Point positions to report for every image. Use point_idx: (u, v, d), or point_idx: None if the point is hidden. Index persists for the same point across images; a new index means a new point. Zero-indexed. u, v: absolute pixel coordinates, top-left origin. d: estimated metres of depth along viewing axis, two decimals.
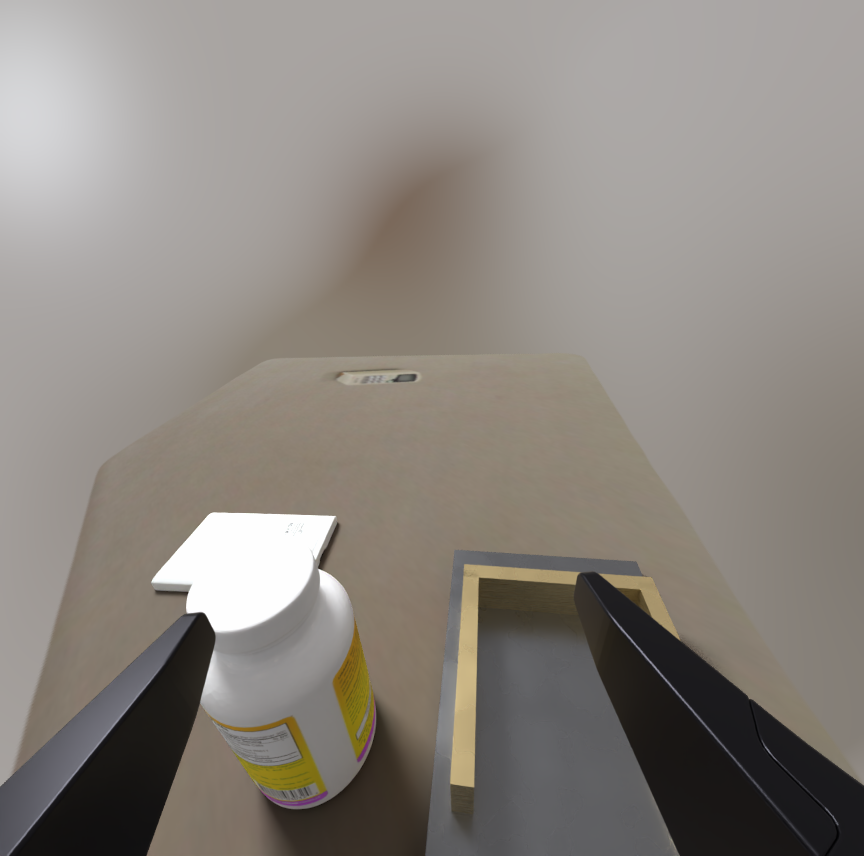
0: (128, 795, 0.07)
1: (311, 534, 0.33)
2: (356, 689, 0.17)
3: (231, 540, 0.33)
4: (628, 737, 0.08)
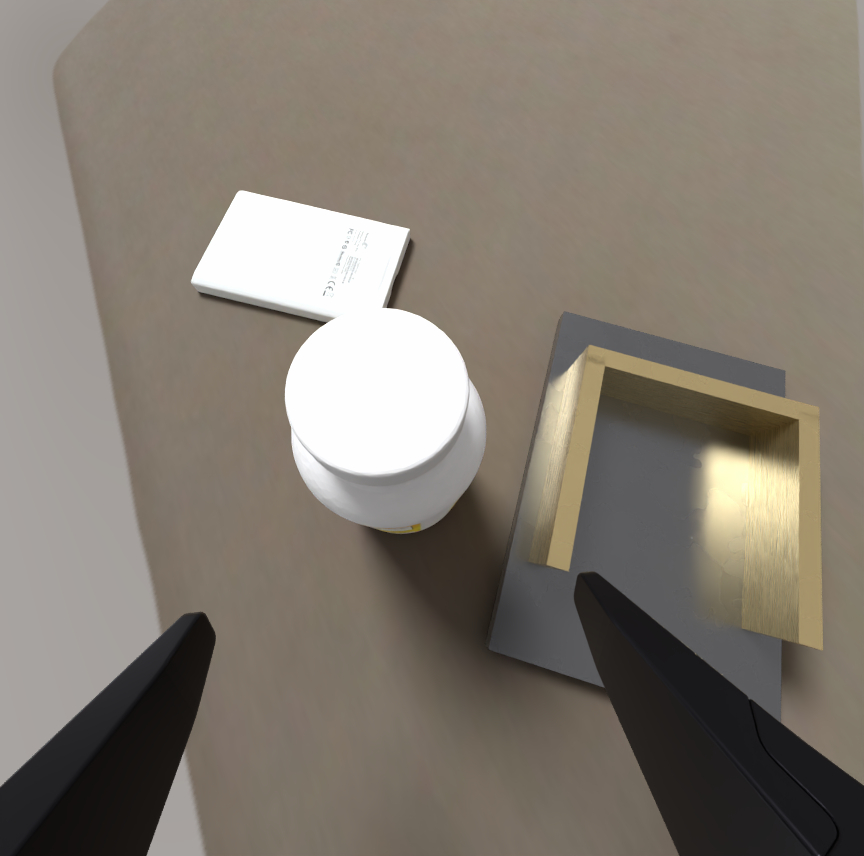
0: (128, 796, 0.07)
1: (378, 251, 0.25)
2: None
3: (276, 241, 0.25)
4: (627, 738, 0.08)
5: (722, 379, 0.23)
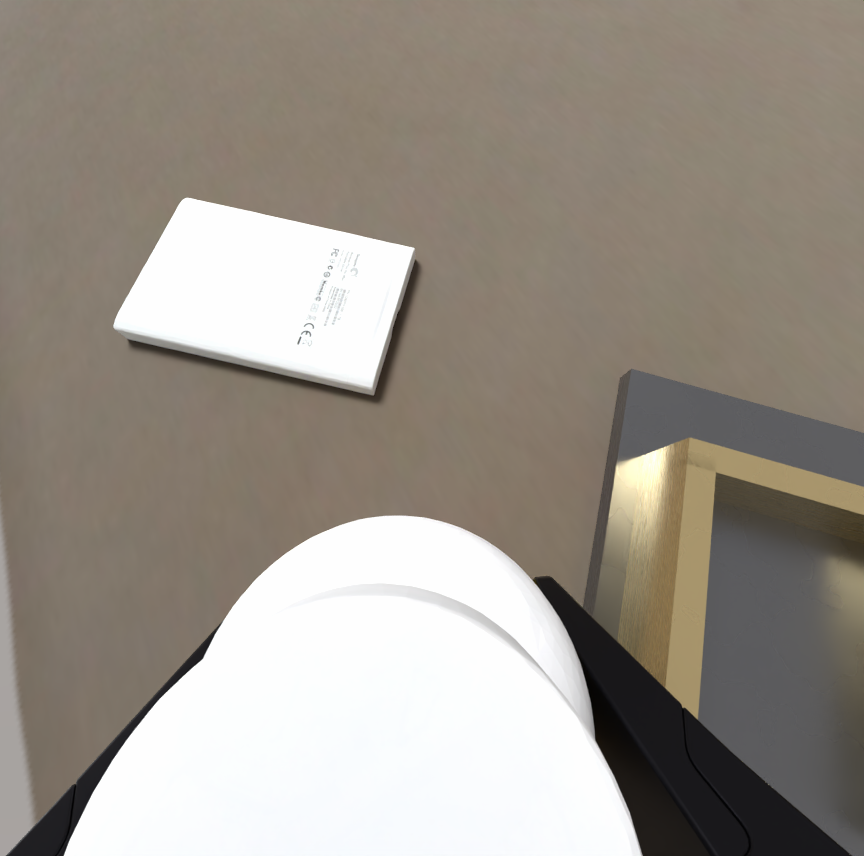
0: None
1: (373, 279, 0.18)
2: None
3: (233, 267, 0.18)
4: None
5: (858, 469, 0.16)
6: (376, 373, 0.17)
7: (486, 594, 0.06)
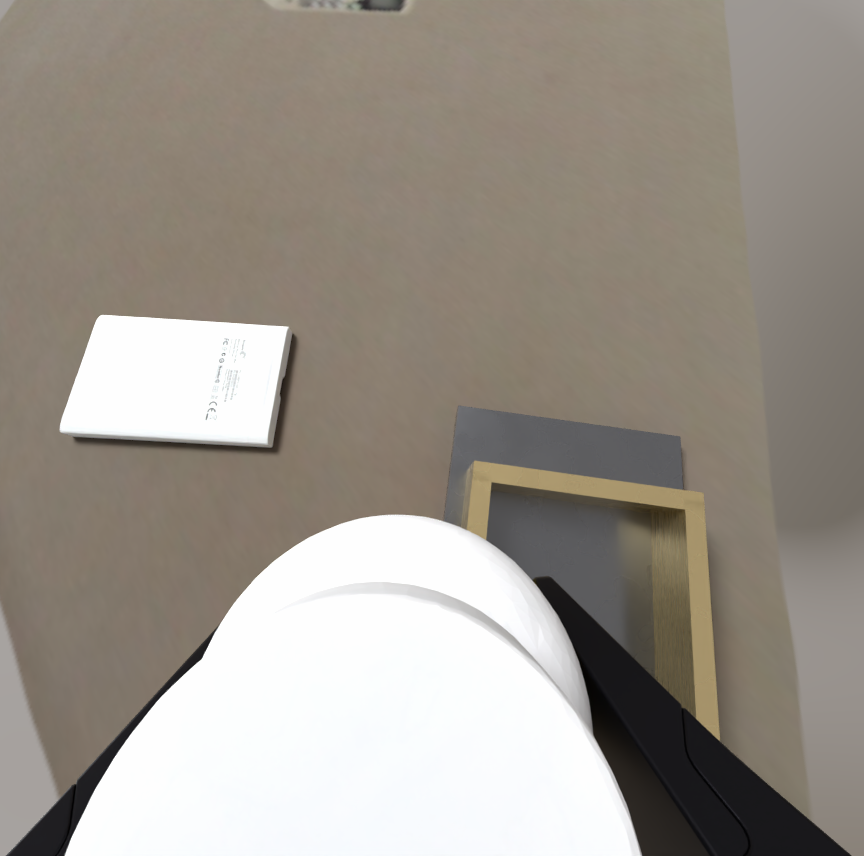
0: None
1: (258, 358, 0.24)
2: None
3: (147, 367, 0.24)
4: None
5: (620, 456, 0.23)
6: (269, 431, 0.23)
7: (485, 593, 0.06)
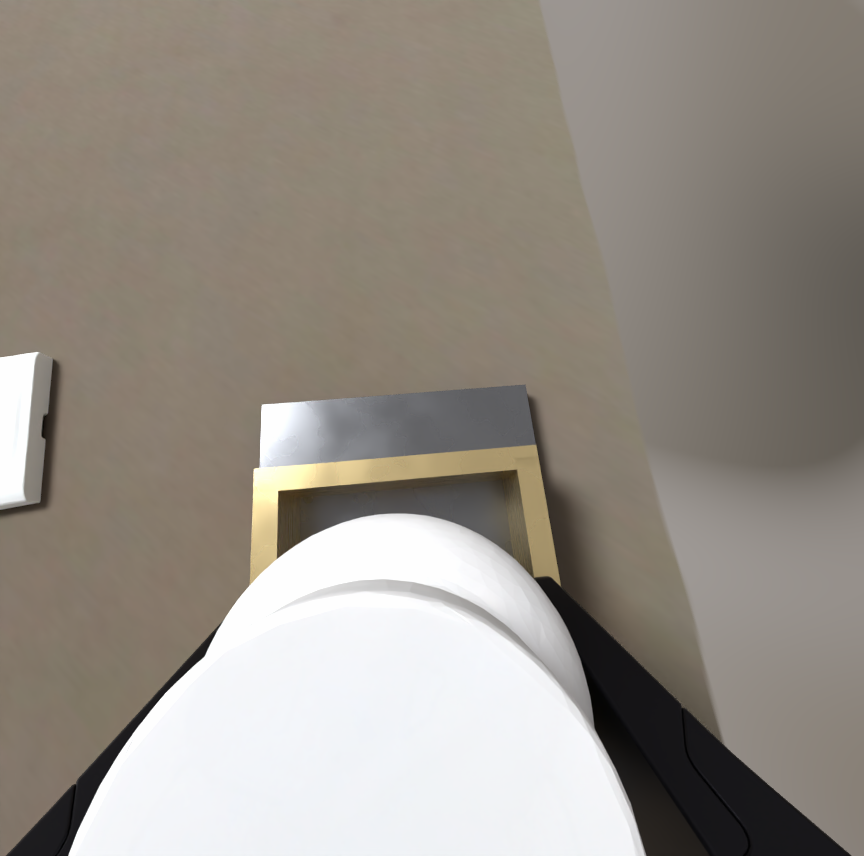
0: None
1: (1, 398, 0.19)
2: None
3: None
4: None
5: (460, 421, 0.20)
6: (26, 484, 0.18)
7: (487, 590, 0.06)
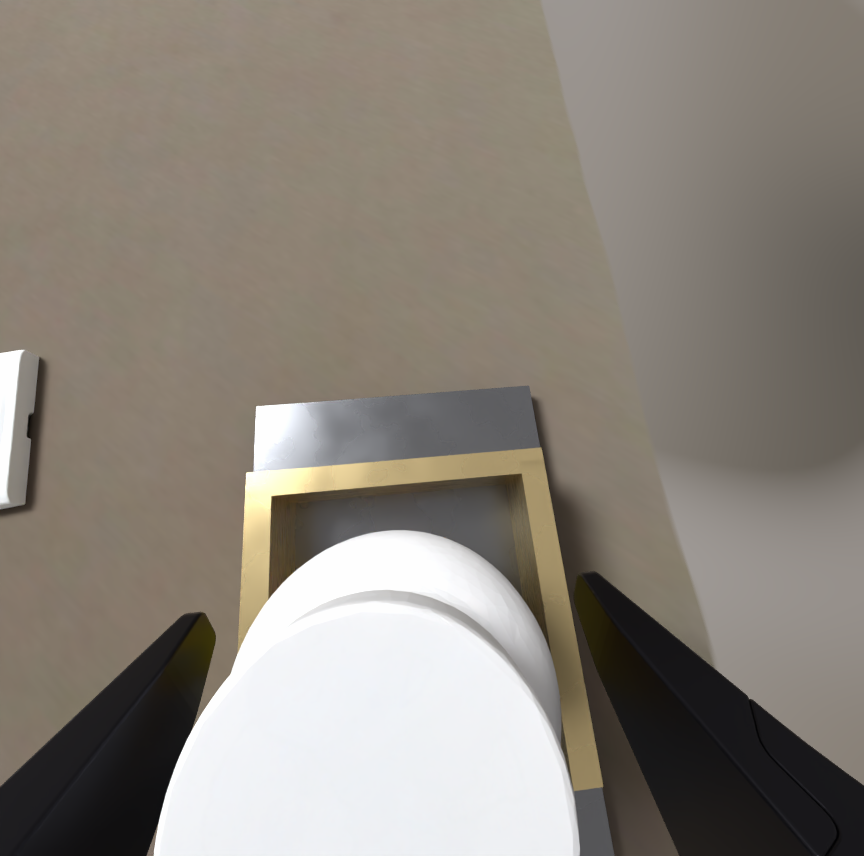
0: (129, 795, 0.07)
1: None
2: None
3: None
4: (627, 738, 0.08)
5: (461, 424, 0.19)
6: (9, 485, 0.18)
7: (472, 598, 0.07)
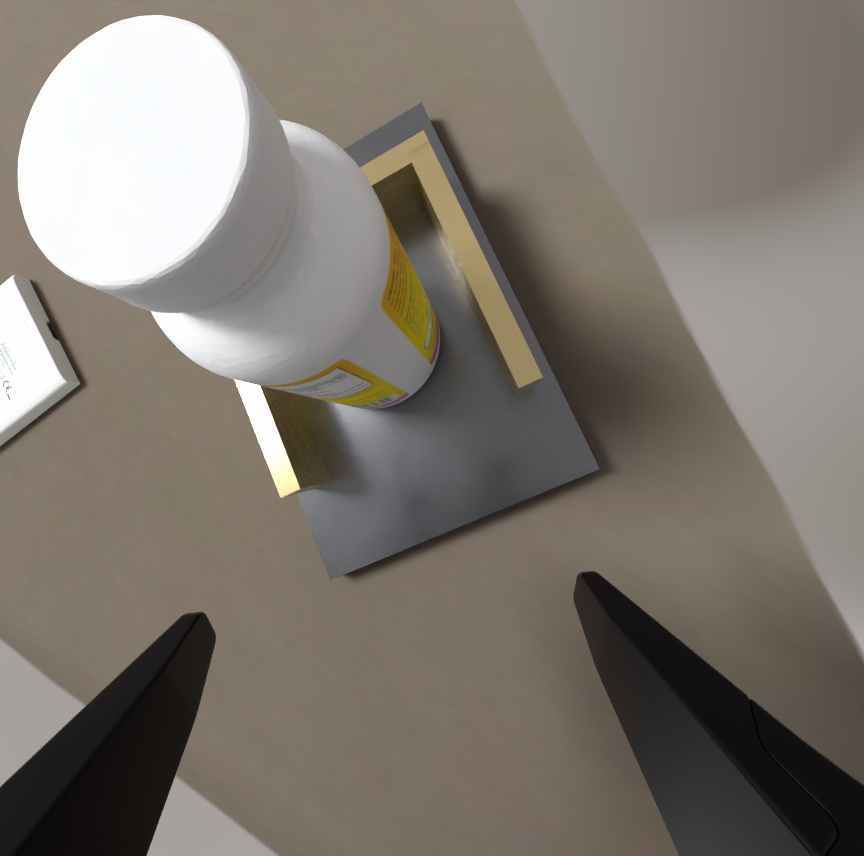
0: (128, 795, 0.07)
1: (9, 319, 0.23)
2: (413, 303, 0.12)
3: None
4: (627, 738, 0.08)
5: None
6: (60, 370, 0.23)
7: None
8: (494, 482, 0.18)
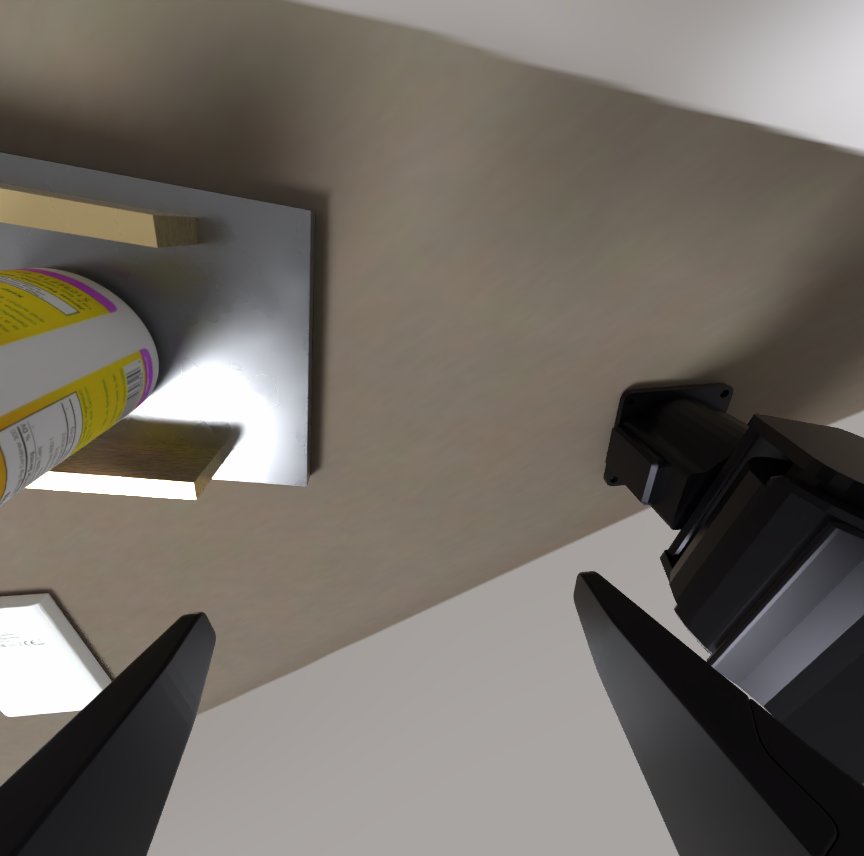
0: (128, 796, 0.07)
1: None
2: None
3: (26, 683, 0.28)
4: (627, 738, 0.08)
5: None
6: (24, 605, 0.24)
7: None
8: (280, 317, 0.17)
